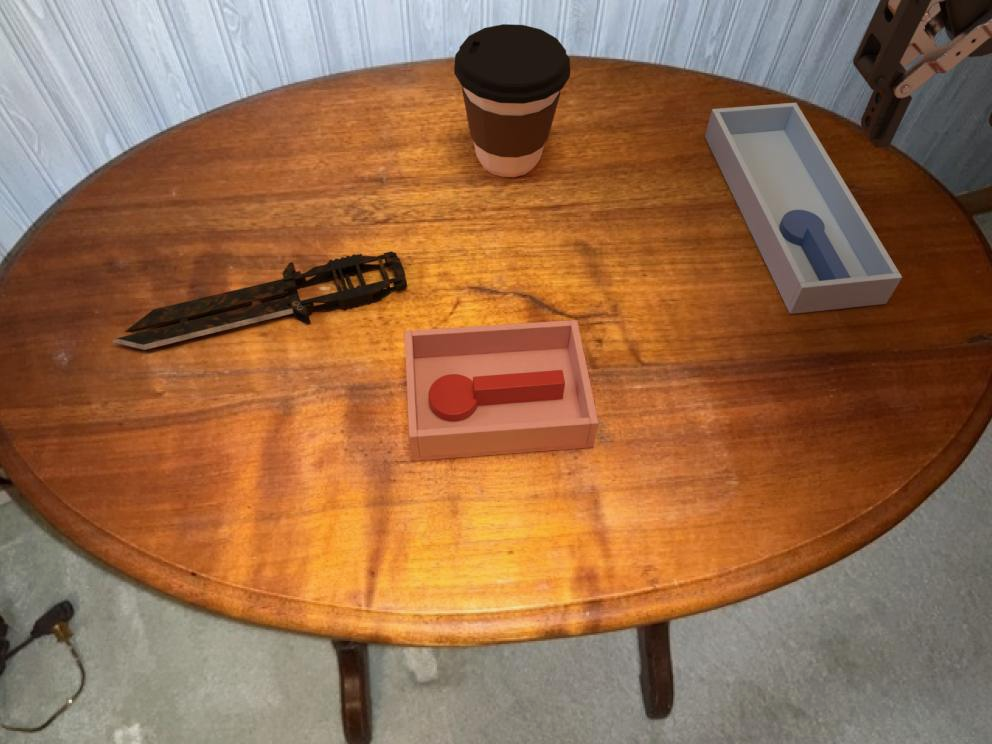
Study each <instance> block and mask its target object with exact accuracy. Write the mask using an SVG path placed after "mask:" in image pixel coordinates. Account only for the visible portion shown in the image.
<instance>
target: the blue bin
mask: <svg viewBox="0 0 992 744" xmlns="http://www.w3.org/2000/svg"><path fill="white" fill-rule="evenodd" d="M704 138H705V141H706V142H707V145H708V146H709V149H710V151H711V154H712V155H713V157H714V159H715V161H716V164H717V165H718V167H719V169H720V171H721V174H722V175H723V178H724V180H725V182H726V184H727V186H728V188H729V190H730V193H731V194H732V196H733V198H734V201H735V203H736V205H737V207H738V209H739V211H740V214H741V215H742V217H743V219H744V222H745V224H746V226H747V228H748V230H749V232H750V234H751V236H752V238H753V240H754V242H755V245H756V247H757V249H758V250H759V254H760V255H761V257H762V259H763V261H764V263H765V265H766V268H767V270H768V271H769V274H770V275H771V278H772V280H773V282H774V284H775V286H776V288H777V290H778V293H779V294H780V297H781V299H782V302H783V303H784V305H785V307H786V309H787V311H788V313H789V314H790V315H795V314H803V313H814V312H822V311H832V310H841V309H850V308H859V307H869V306H877V305H878V306H879V305H887V303H888V302H889V300H890V298H891V297H892V295H893V294H894V292H895V290H896V288H897V287H898V285H899V284H900V282H901V280H902V278H903V276H902V274H901V273H900V271H899V269H898V268H897V266H896V264H895V263H894V261H893V259H892V258H891V256H890V254H889V253H888V251H887V250H886V248H885V246H884V245H883V243H882V242H881V240H880V239H879V237H878V235H877V233H876V232H875V230H874V228H873V227H872V224H871V223H870V222H869V220H868V218H867V217H866V215H865V213H864V212H863V210H862V209H861V206H860V205H859V204H858V202H857V200H856V198H855V197H854V195H853V193H852V192H851V190H850V189H849V187H848V185H847V184H846V182H845V180H844V179H843V177H842V176H841V174H840V172H839V171H838V169H837V168H836V166H835V164H834V163H833V161H832V159H831V158H830V156H829V154H828V153H827V151H826V149H825V147H824V146H823V144H822V143H821V141H820V140H819V138H818V136H817V134H816V132H815V131H814V130H813V127H812V126H811V125H810V123H809V121H808V120H807V118H806V116H805V115H804V113H803V111H802V110H801V108H800V106H799V104H798V103H797V102H787V103H786V102H785V103H774V104H773V103H771V104H762V105H761V104H760V105H747V106H734V107H733V106H732V107H723V108H712V109H711V112H710V116H709V119H708V124H707V127H706V130H705V134H704ZM792 210H805V211H809V212H812V213H814V214H815V215H817V216H818V217H819V218H820V219H821V220H822V221H823V223H824V225H825V230H824V231H825V233H826V235H827V237H828V238H829V240H830V242H831V244H832V245H833V247H834V249H835V251H836V252H837V254H838V256H839V258H840V259H841V261H842V263H843V265H844V266H845V268H846V270H847V272H848V273H849V275H850V277H851V278H843V279H834V280H824V281H820V280H819V278H818V277H817V275H816V273H815V271H814V269H813V267H812V265H811V264H810V262H809V260H808V258H807V256H806V254H805V252H804V251H803V249H802V247H801V246H799V245H796V244H793V243H791V242H789V241H787V240H786V239H785V238H784V237H783V236H782V234H781V232H780V230H779V226H780V223H781V220H782V218H783V216H784V215H785V214H786V213H787V212H789V211H792Z"/></svg>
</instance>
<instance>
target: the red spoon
mask: <svg viewBox="0 0 992 744" xmlns="http://www.w3.org/2000/svg"><path fill="white" fill-rule="evenodd" d="M564 388H565V380H564V375H563V370H553V371H540V372H527V373H514V374H501V375H489V376H476V377H473V381H472V380H471V379H469V378H468V377H466V376H463V375H459V374H449V375H445V376H442V377H440V378H438V379H437V380H436V381H435V382H434V383H433V384H432V385H431V387H430V390H429V405H430V408H431V410H432V411H433V413H434V414H435V415H436V416H438V417H439V418H441V419H443V420H447V421H460V420H464V419H466V418H468V417H469V416H471V415H472V414H473V413H474V412H475V410H476V409H477V407H478V406H481V405H494V404H506V403H518V402H531V401H543V400H555V399H563V394H564Z"/></svg>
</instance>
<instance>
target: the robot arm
mask: <svg viewBox="0 0 992 744" xmlns="http://www.w3.org/2000/svg"><path fill="white" fill-rule="evenodd" d="M943 29H944V30H945V34H946V35H947V38H948V39H949V40H950V41H949V42H948V44H945V45H943V46H940V45H939V46H938V44H937V43H936V42H935V38H936V36H937V34H938V33H939V32H940V31H942V30H943ZM991 54H992V0H879V1H878V4H877V6H876V9H875V11H874V13H873V15H872V17H871V19H870V21H869V24H868V26H867V28H866V30H865V32H864V34H863V37H862V39H861V41H860V43H859V45H858V47H857V49H856V52H855V54H854V56H853V59H852V64H853V66H854V67H855V69H856V70H857V71H858V73H859V74H860V76H861V77H862V78H863V80H864V81H865V82H866V83H867V85H868V86H869V88H870V90H873V91H872V92H871V95H870V98H869V100H868V102H867V104H866V105H867V106H866V107H865V109H864V112H863V114H862V116H861V118H860V127H861V129H863V131H864V134H865V136H866V137H867V139H868V140H869V142H870V143H871V144H872V146H873V147H874V148H875V149H878V148H880V149H881V148H888V147H890V146H891V144H892V142H893V140H894V138H895V135H896V133H897V131H898V129H899V127H900V125H901V123H902V120H903V118H904V117H905V114H906V112H907V110H908V108H909V106H910V104H911V102H912V100H913V96H912V94H913V93H915V92H916V90H918V89H919V88H920V87H922V86H923V85H924V84H925V83H926V82H928V81H929V80H931V78H933V76H935V75H937V74H945V73H948V72H950V71H951V70H952V69H954V68H956V66H957V65H958V64H960V63H961V62H962V61H964V59H966V58H967V57H969V58H975V57H984V56H987V55H991ZM920 56H922V57H921V58H920V59H919V60H918V61H917V62H916V63H915V64H913V65H912V66H911V67H910V68H909V69H906V68H907V67H908V66H909V65H910V64H911V63H913V62H914V61H915V60H916V59H917V58H918V57H920ZM988 123H989V125H990V127H991V128H992V112H990V115H989V117H988Z"/></svg>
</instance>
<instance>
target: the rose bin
mask: <svg viewBox="0 0 992 744" xmlns="http://www.w3.org/2000/svg"><path fill="white" fill-rule="evenodd" d="M404 350H405V351H404V352H405V354H404V355H405V372H406V373H405V374H406V375H405V376H406V377H405V378H406V397H407V418H408V419H407V420H408V421H407V422H408V440H409V449H410V454H411V455H410V456H411V462H417V461H432V460H443V459H457V458H459V459H460V458H470V457H484V456H494V455H495V456H497V455H511V454H522V453H523V454H524V453H537V452H538V453H539V452H549V451H563V450H575V449H576V450H577V449H589V448H594V446H595V441H596V437H597V434H598V433H597V432H598V428H599V422H600V421H599V418H598V413H597V408H596V404H595V399H594V393H593V388H592V384H591V379H590V374H589V369H588V365H587V360H586V356H585V351H584V345H583V342H582V336H581V331H580V325H579V322H578V319H571V320H570V319H569V320H554V321H553V320H552V321H539V322H538V321H537V322H521V323H520V322H519V323H506V324H493V325H492V324H490V325H474V326H473V325H471V326H458V327H442V328H441V327H440V328H428V329H425V328H424V329H412V330H410V329H409V330H404ZM553 370H563V375H564V380H565V388H564V394H563V399H555V400H543V401H531V402H518V403H506V404H494V405H481V406H478V407H477V409H476V410H475V412H474V413H473V414H472V415H471V416H469V417H468V418H466V419H464V420H460V421H447V420H443V419H441V418H439V417H438V416H436V415H435V414H434V413H433V411H432V410H431V408H430V405H429V390H430V387H431V385H432V384H433V383H434V382H435V381H436V380H437V379H438V378H440V377H442V376H445V375H449V374H459V375H463V376H466V377H468V378H469V379H471V380H472V381H473V377H476V376H489V375H501V374H514V373H527V372H540V371H553Z"/></svg>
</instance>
